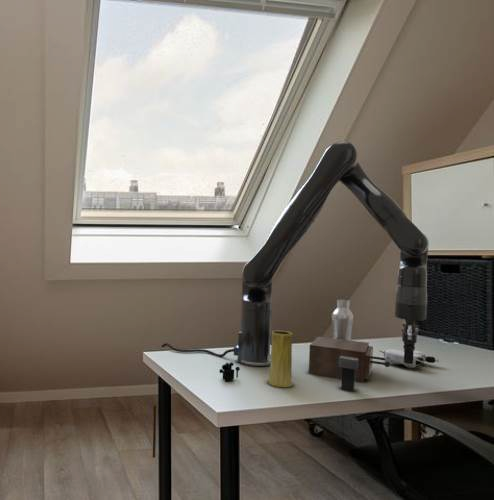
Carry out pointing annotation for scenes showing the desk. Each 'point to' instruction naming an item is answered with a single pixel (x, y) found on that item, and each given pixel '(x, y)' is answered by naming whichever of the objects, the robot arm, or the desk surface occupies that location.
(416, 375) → the desk surface
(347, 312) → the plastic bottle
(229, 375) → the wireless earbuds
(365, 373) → the drawer
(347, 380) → the tall brushed metal prism
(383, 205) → the robot arm
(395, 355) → the robot toy
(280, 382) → the vase
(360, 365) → the cabinet
